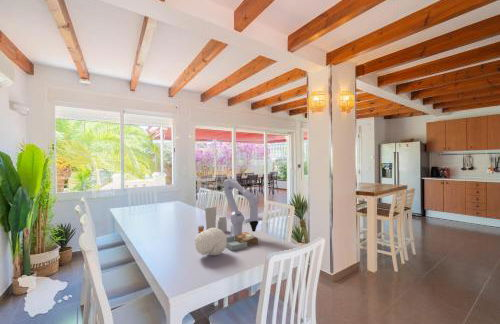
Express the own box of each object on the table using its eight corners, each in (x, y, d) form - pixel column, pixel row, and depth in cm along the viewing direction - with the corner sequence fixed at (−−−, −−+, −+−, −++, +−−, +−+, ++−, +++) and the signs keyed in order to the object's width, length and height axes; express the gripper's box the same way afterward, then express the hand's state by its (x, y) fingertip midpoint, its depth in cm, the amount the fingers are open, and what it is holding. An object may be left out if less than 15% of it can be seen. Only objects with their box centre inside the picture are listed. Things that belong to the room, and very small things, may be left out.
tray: (220, 244, 163) (220, 238, 163) (234, 240, 170) (234, 235, 170) (232, 251, 150) (232, 245, 150) (247, 247, 157) (247, 242, 157)
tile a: (240, 235, 169) (240, 232, 169) (246, 234, 172) (246, 231, 172) (244, 237, 166) (244, 234, 166) (249, 236, 168) (249, 233, 168)
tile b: (245, 237, 165) (245, 234, 165) (250, 236, 168) (250, 233, 168) (248, 239, 161) (248, 236, 161) (254, 238, 164) (254, 235, 164)
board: (234, 240, 170) (234, 235, 170) (246, 238, 176) (246, 233, 176) (246, 246, 158) (246, 240, 158) (257, 243, 164) (257, 238, 164)
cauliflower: (214, 248, 156) (214, 223, 156) (233, 255, 145) (233, 228, 145) (188, 257, 140) (189, 229, 140) (208, 266, 129) (208, 236, 129)
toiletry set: (223, 229, 198) (223, 205, 198) (228, 231, 192) (228, 206, 192) (195, 235, 182) (196, 208, 182) (200, 237, 176) (200, 210, 176)
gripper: (248, 214, 166) (248, 234, 166) (264, 212, 174) (264, 230, 174) (243, 213, 171) (243, 231, 171) (259, 210, 180) (258, 228, 180)
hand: (253, 231), depth 173 cm, fingers closed
